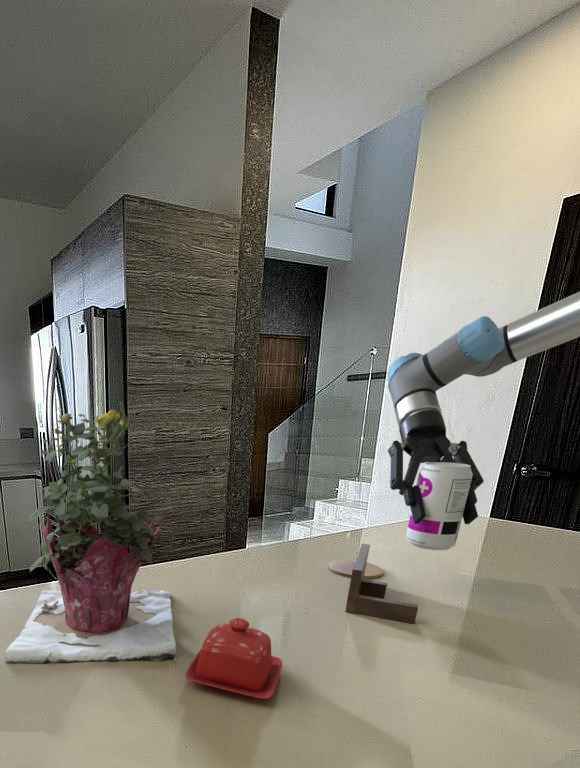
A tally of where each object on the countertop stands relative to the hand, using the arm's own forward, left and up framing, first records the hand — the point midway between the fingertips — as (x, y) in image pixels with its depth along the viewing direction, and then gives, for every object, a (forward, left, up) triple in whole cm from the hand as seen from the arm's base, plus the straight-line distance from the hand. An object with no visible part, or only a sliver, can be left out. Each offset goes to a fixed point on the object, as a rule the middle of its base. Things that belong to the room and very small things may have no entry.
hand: (445, 519), depth 86 cm
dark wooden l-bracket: (+7, +6, -15) cm, 18 cm away
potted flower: (+49, +40, -15) cm, 65 cm away
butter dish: (+24, +45, -15) cm, 53 cm away
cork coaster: (+14, -10, -15) cm, 22 cm away
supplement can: (+1, -3, -6) cm, 7 cm away
